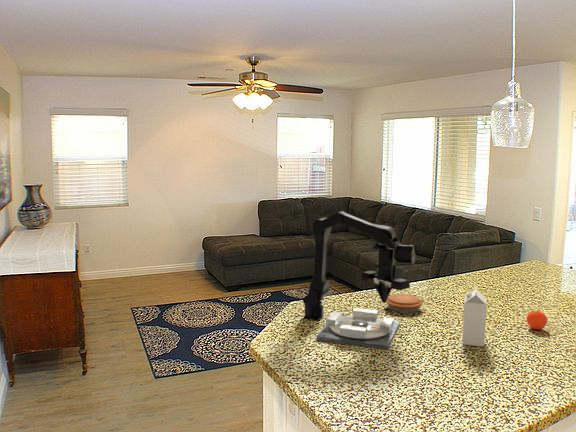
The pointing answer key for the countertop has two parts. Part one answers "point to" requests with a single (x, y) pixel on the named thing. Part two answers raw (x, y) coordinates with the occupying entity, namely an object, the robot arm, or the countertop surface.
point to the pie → (404, 303)
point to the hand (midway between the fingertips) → (384, 302)
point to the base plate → (371, 343)
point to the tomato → (536, 319)
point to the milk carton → (474, 319)
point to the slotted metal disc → (360, 324)
